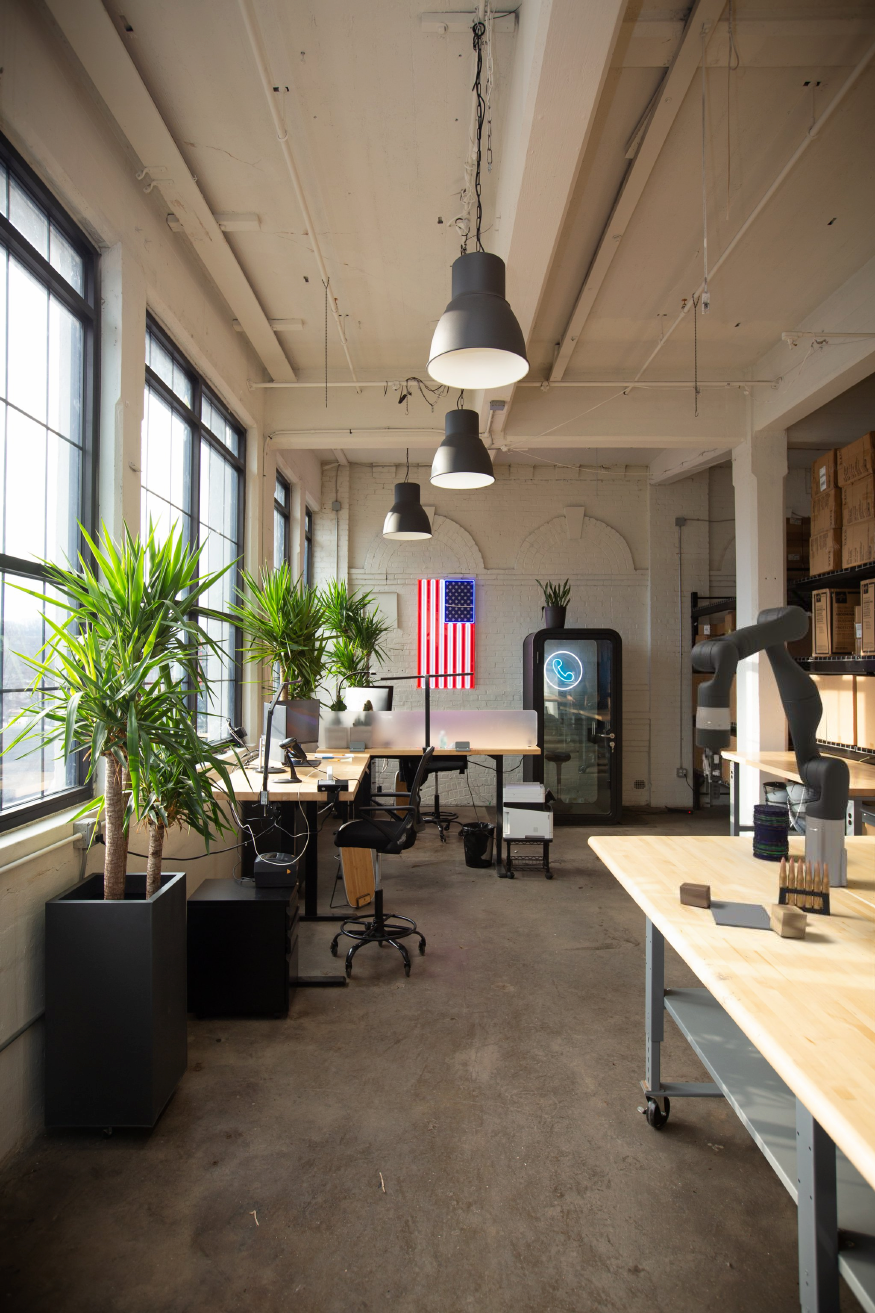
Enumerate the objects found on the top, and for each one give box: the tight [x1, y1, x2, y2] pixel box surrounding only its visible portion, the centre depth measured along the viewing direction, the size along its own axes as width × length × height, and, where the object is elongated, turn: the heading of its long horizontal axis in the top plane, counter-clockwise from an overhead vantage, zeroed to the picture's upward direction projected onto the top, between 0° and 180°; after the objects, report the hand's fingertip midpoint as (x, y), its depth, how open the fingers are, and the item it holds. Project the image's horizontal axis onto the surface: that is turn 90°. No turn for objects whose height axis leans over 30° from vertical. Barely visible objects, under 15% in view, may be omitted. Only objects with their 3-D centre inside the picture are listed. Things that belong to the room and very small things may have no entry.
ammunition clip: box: [777, 857, 831, 917], centre depth 164 cm, size 11×2×12 cm, turn 67°
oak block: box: [770, 903, 808, 939], centre depth 150 cm, size 5×5×5 cm
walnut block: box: [679, 881, 712, 908], centre depth 167 cm, size 4×6×4 cm, turn 56°
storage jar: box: [752, 803, 790, 863], centre depth 211 cm, size 10×10×15 cm
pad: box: [708, 899, 774, 932], centre depth 160 cm, size 12×16×1 cm
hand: (712, 796), depth 165 cm, fingers open, 8 cm apart
